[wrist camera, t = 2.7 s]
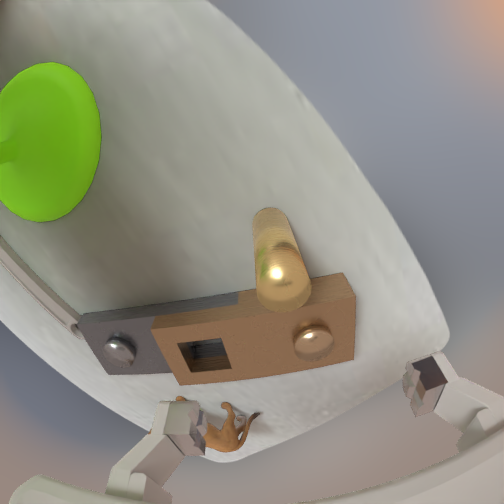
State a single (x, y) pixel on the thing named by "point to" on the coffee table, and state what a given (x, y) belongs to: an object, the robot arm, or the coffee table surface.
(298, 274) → the brass pin
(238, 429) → the lion figurine
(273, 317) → the door latch
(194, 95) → the coffee table surface
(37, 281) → the adjustable wrench
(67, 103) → the wineglass
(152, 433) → the robot arm
